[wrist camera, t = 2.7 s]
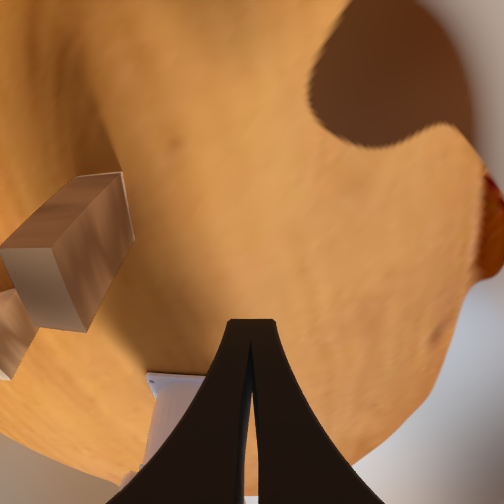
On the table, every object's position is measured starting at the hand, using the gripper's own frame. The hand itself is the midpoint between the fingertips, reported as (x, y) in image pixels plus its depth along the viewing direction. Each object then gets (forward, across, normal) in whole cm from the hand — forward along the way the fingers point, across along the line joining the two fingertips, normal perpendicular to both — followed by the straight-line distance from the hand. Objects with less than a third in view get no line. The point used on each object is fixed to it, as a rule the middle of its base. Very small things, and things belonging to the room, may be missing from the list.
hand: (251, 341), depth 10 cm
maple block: (+10, +21, +9) cm, 25 cm away
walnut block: (+10, +9, 0) cm, 13 cm away
